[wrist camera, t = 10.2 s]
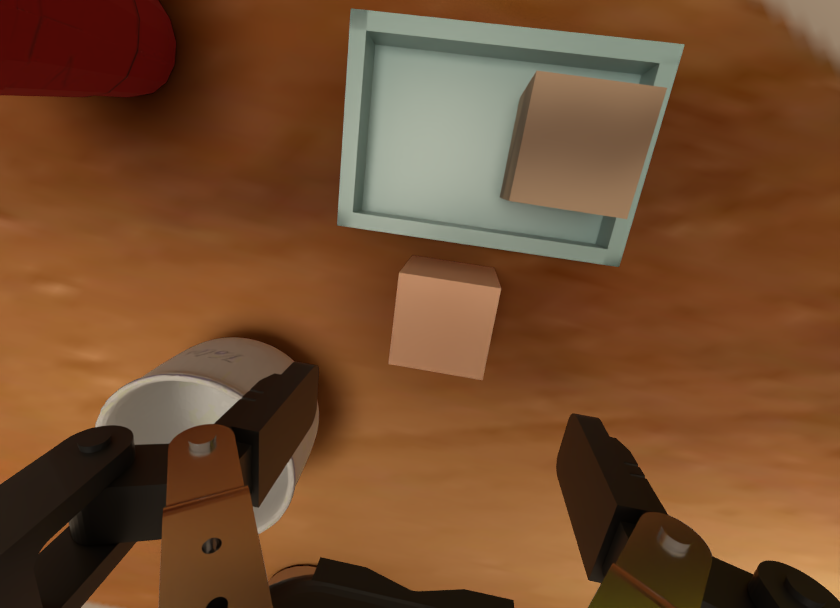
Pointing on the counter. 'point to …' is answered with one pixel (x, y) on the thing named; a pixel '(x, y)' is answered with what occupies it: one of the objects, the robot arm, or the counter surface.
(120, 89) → the plastic cup
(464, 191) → the tray
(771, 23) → the counter surface
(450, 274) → the terracotta cube
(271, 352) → the teacup
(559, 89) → the walnut cube
